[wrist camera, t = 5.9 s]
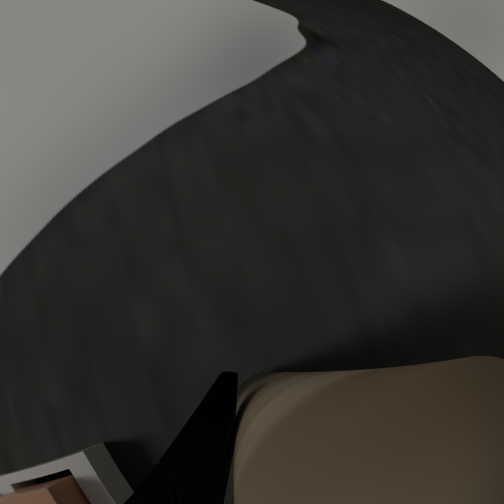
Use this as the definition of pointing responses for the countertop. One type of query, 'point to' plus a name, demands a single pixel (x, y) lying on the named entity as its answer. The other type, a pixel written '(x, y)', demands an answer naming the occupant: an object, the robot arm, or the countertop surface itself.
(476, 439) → the tan banded cylinder
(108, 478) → the keypad
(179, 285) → the countertop surface
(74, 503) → the terracotta key
